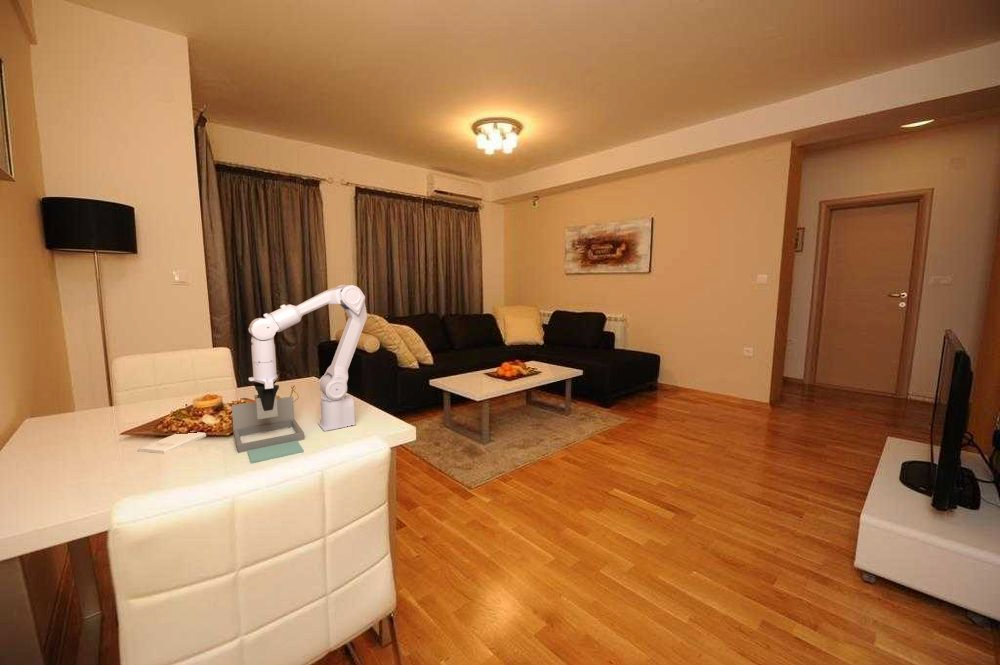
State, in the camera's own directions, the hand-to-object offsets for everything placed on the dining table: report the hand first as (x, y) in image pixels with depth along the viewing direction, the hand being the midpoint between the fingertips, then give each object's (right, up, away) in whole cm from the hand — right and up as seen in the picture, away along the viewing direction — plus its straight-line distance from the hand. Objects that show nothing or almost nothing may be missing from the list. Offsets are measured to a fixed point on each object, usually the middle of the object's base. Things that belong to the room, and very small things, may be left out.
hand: (267, 408), depth 117 cm
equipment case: (0, -9, +1) cm, 9 cm away
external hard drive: (-24, -10, -4) cm, 26 cm away
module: (0, -2, 0) cm, 2 cm away
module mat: (+7, -10, -8) cm, 15 cm away
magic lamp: (-9, -7, +18) cm, 21 cm away
